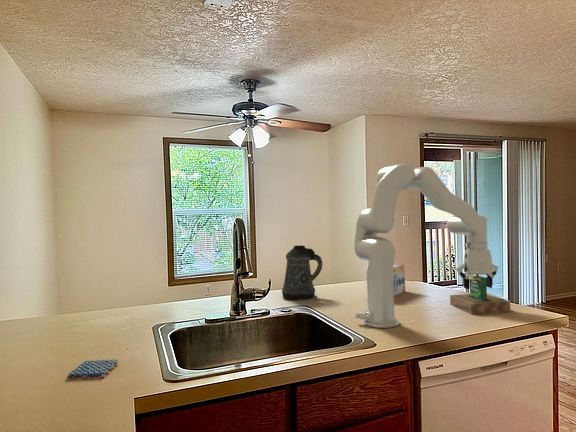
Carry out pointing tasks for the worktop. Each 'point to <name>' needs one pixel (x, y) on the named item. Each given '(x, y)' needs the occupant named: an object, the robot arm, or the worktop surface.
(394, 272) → the gum box
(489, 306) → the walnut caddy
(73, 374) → the woven mat
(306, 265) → the beer stein
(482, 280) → the coffee box
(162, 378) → the worktop surface
